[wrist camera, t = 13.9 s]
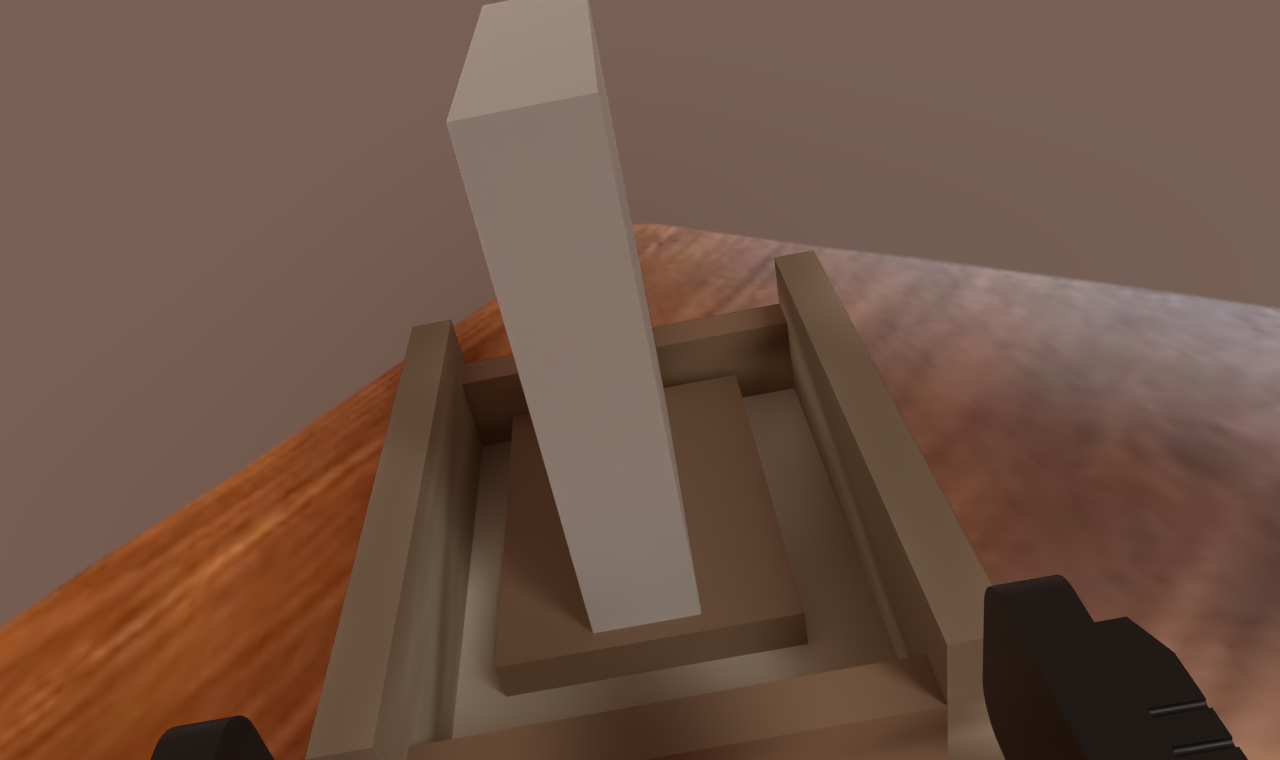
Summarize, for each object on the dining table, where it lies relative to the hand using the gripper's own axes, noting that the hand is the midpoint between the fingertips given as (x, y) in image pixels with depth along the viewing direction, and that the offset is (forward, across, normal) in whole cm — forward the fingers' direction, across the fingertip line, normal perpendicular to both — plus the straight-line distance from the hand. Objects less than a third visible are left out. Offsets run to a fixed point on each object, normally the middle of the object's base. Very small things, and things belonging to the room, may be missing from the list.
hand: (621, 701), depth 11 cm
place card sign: (+13, 0, +9) cm, 16 cm away
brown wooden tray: (+12, 0, +10) cm, 15 cm away
